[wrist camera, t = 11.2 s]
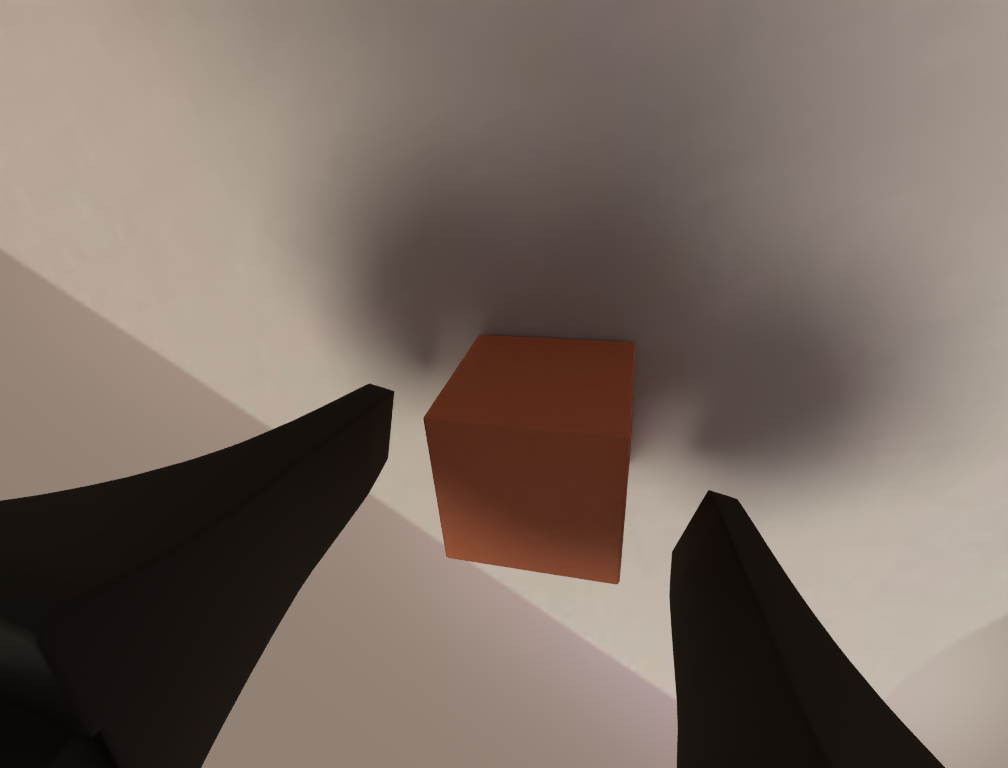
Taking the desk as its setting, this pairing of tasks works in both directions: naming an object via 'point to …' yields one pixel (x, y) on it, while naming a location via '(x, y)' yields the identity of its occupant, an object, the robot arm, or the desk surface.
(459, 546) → the block
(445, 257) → the desk surface
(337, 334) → the desk surface
